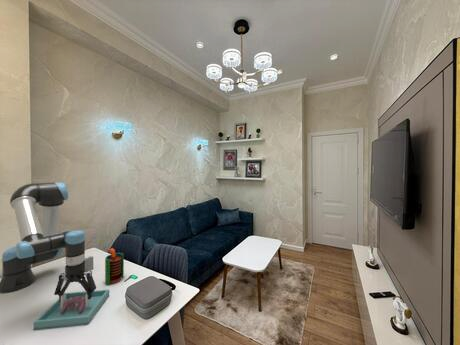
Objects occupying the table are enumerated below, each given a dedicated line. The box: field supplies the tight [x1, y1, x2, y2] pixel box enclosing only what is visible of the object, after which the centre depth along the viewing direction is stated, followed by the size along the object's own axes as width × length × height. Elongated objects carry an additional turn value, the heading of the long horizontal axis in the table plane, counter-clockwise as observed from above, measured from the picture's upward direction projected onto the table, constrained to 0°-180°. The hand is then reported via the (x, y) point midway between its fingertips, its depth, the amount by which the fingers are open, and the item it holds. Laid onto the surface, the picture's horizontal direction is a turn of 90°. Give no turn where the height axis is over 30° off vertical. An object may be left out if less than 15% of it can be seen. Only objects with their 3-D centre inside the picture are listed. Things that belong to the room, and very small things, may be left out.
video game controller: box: [61, 296, 86, 314], centre depth 95 cm, size 10×5×7 cm, turn 92°
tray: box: [33, 288, 110, 331], centre depth 95 cm, size 22×20×4 cm
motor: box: [104, 248, 125, 286], centre depth 121 cm, size 10×9×20 cm
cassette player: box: [64, 255, 94, 281], centre depth 128 cm, size 16×3×10 cm, turn 157°
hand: (75, 306), depth 95 cm, fingers open, 10 cm apart
